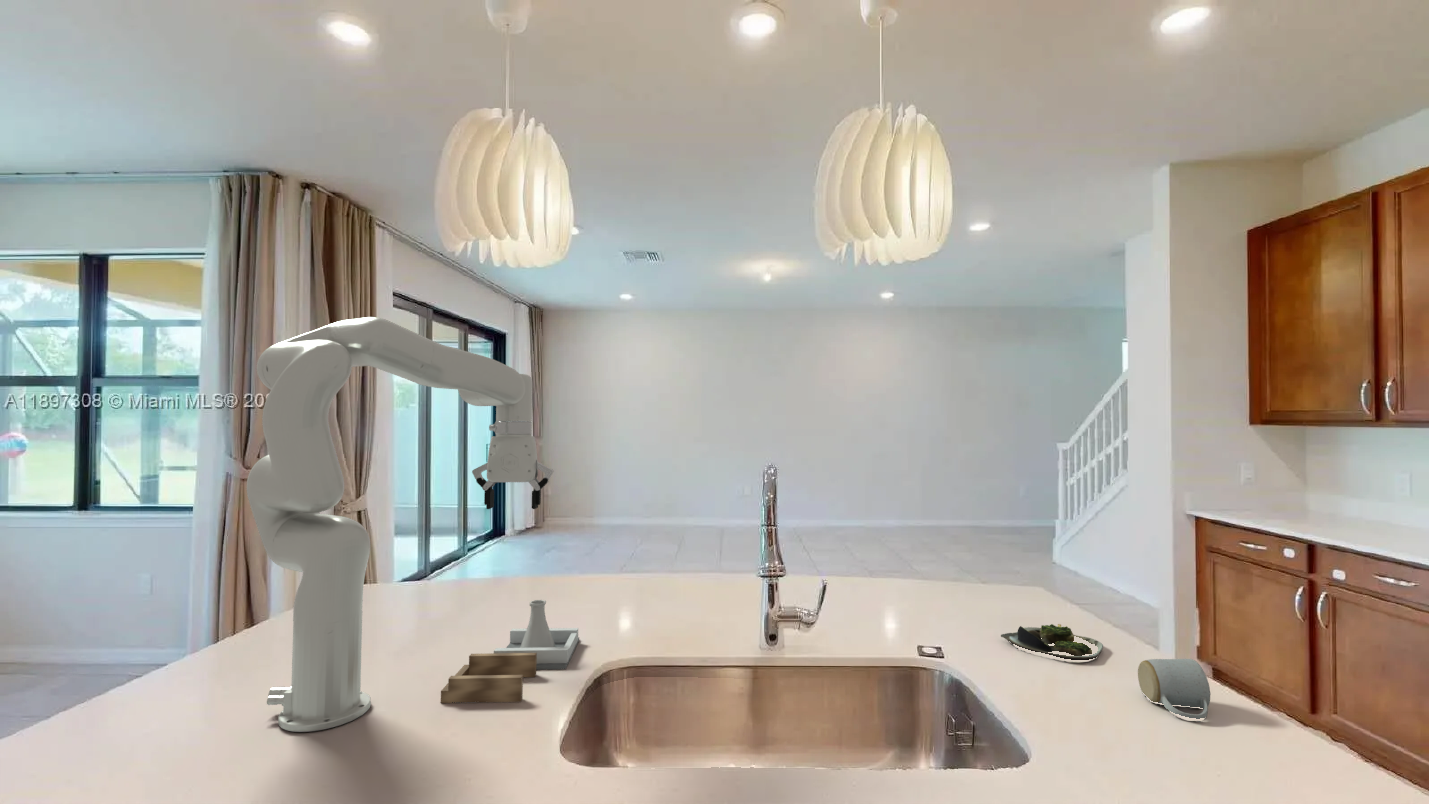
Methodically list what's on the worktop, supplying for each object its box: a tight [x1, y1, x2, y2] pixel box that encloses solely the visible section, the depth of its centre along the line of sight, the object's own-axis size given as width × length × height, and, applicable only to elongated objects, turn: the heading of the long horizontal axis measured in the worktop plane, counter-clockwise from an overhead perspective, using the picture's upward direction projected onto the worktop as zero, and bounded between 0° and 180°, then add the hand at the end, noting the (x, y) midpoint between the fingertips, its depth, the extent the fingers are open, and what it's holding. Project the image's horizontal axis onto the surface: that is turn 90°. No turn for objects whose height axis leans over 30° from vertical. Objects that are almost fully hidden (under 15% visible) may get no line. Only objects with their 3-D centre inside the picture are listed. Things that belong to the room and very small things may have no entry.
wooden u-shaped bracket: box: [440, 652, 537, 704], centre depth 110 cm, size 13×11×4 cm
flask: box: [520, 599, 556, 648], centre depth 127 cm, size 7×7×10 cm
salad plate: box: [1000, 623, 1104, 660], centre depth 134 cm, size 19×18×5 cm
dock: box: [493, 627, 580, 671], centre depth 127 cm, size 14×16×3 cm
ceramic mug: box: [1137, 658, 1211, 719], centre depth 104 cm, size 11×8×8 cm
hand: (512, 508), depth 136 cm, fingers open, 9 cm apart
